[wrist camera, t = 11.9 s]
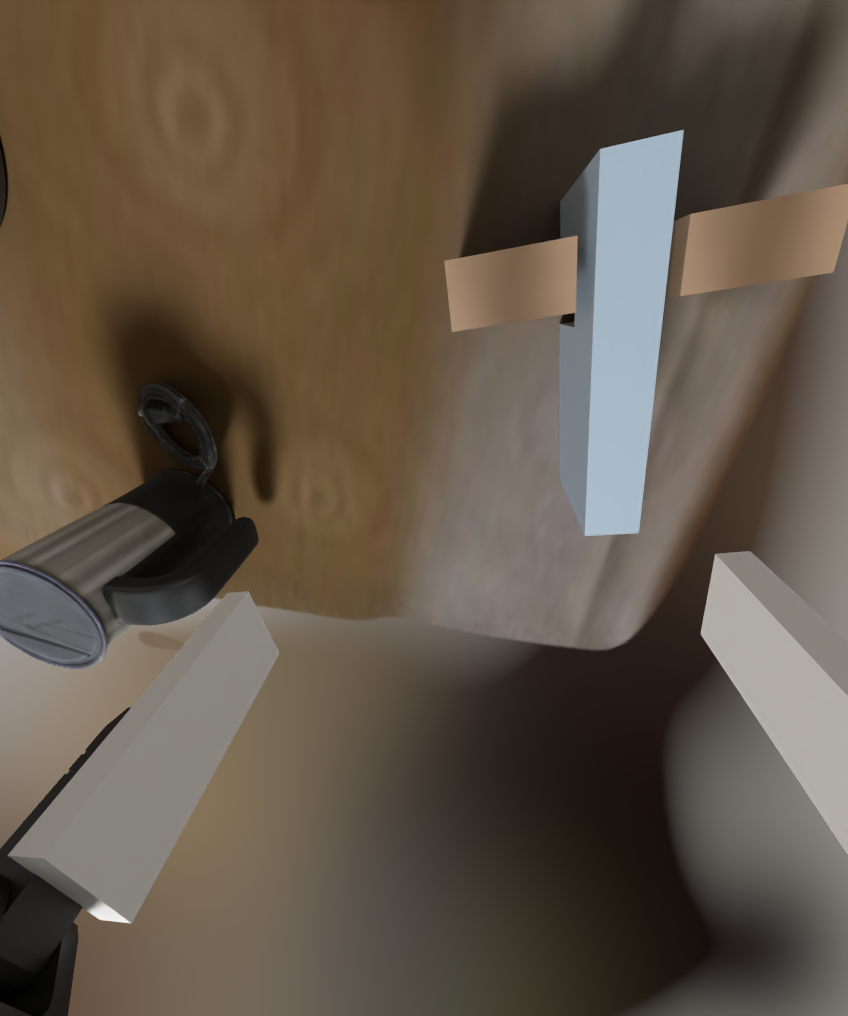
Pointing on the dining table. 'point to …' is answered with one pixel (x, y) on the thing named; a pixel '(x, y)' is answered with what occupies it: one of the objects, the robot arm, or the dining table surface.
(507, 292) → the light brown wooden block
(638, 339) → the pale blue flat block
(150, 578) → the milk frother
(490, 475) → the dining table surface
